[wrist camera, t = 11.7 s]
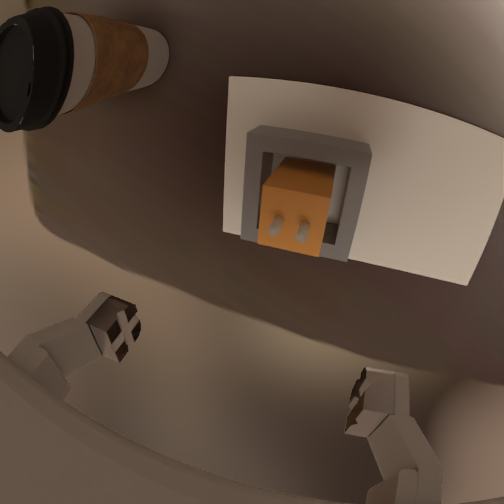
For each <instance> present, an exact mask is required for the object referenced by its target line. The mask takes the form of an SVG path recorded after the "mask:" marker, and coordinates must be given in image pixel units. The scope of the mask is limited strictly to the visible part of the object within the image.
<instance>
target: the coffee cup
mask: <svg viewBox="0 0 504 504" xmlns="http://www.w3.org/2000/svg"><path fill="white" fill-rule="evenodd" d="M168 61H169V47H168V44H167V41H166V39H165V38H164V37H163V35H162V34H160V33H159V32H158V31H156V30H153V29H150V28H146V27H142V26H137V25H133V24H130V23H127V22H122V21H118V20H114V19H109V18H105V17H100V16H95V15H90V14H84V13H78V12H66V13H62V12H61V11H59V10H58V9H56V8H54V7H42V8H36V9H33V10H30V11H28V12H27V13H25V14H22V15H18V16H14V17H12V18H10V19H8V20H7V21H5V22H4V23H3V24H2V25H1V26H0V129H1V130H3V131H5V132H13V131H17V130H26V131H32V130H36V129H40V128H44V127H45V126H47V125H49V124H50V123H51V122H52V121H53V120H54V119H55V118H56V116H64V115H68V114H70V113H73V112H75V111H77V110H80V109H82V108H85V107H87V106H90V105H92V104H95V103H98V102H100V101H103V100H106V99H109V98H111V97H114V96H117V95H120V94H123V93H125V92H128V91H132V90H135V89H139V88H143V87H146V86H149V85H151V84H153V83H154V82H156V81H157V80H158V79H159V78H160V77H161V76H162V74H163V73H164V71H165V69H166V67H167V64H168Z"/></svg>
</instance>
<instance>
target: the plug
mask: <svg viewBox="0 0 504 504" xmlns="http://www.w3.org/2000/svg"><path fill="white" fill-rule="evenodd" d="M335 171H336V166H333V165H328V164H323V163H318V162H313V161H307V160H302V159H296V158H291V157H285V158H284V159H283V161H282V162H281V163H280V164H279V166H278V167H277V168H276V169H275V171H274V172H273V173H272V174H271V175H270V177H269V178H268V179H267V180H266V182H265V183H264V184H263V188H262V199H261V209H260V220H259V231H258V242H257V244H261V245H266V246H270V247H275V248H279V249H284V250H289V251H293V252H298V253H302V254H307V255H311V256H316V257H319V254H320V250H321V245H322V240H323V236H324V231H325V226H326V221H327V217H328V212H329V206H330V201H331V196H332V190H333V184H334V177H335Z"/></svg>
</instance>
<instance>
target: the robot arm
mask: <svg viewBox="0 0 504 504" xmlns="http://www.w3.org/2000/svg"><path fill="white" fill-rule="evenodd" d="M136 313H137V308H136V305H135V304H132V303H130V302H127V301H125V300H122V299H120V298H117V297H114V296H112V295H110V294H107V293H104V292H101V293H99V294H98V295H97V296H96V297H95V298H94V299H93V300H92V301H91V302H90V303H89V304H88V305H87V306H86V307H85V308H84V309H83V311H82V312H81V313H80V314H79V315H78V316H77V317H76V318H74V317H72V318H69V319H66V320H64V321H61V322H59V323H57V324H54V325H51V326H49V327H46V328H44V329H41V330H39V331H36V332H34V333H31V334H29V335H26V336H25V337H24V338H23V339H22V340H21V342H20V343H19V344H18V345H17V346H16V347H15V348H14V349H13V351H12V352H11V353H10V354H9V355H8V356H7V357H6V356H5V355H4V354H3V353H2V352H1V351H0V504H349V503H339V502H331V501H324V500H317V499H311V498H305V497H299V496H294V495H290V494H284V493H280V492H276V491H272V490H267V489H263V488H259V487H256V486H252V485H248V484H245V483H241V482H237V481H234V480H231V479H228V478H225V477H222V476H218V475H215V474H213V473H210V472H207V471H204V470H201V469H198V468H196V467H193V466H190V465H188V464H185V463H183V462H180V461H178V460H175V459H173V458H171V457H168V456H166V455H164V454H161V453H159V452H157V451H155V450H152V449H150V448H148V447H146V446H144V445H142V444H140V443H138V442H136V441H134V440H132V439H130V438H128V437H126V436H124V435H122V434H120V433H118V432H116V431H114V430H113V429H111V428H109V427H107V426H105V425H104V424H102V423H100V422H98V421H96V420H95V419H93V418H91V417H90V416H88V415H87V414H85V413H83V412H82V411H80V410H78V409H77V408H75V407H74V406H72V405H71V404H69V403H67V402H66V401H64V398H65V397H66V396H67V394H68V393H69V391H70V390H71V387H70V385H69V383H68V382H67V380H66V379H65V378H66V377H67V376H69V375H71V374H73V373H75V372H76V371H78V370H80V369H82V368H83V367H85V366H87V365H89V364H90V363H92V362H94V361H96V360H98V359H99V358H101V357H102V356H104V357H106V358H109V359H111V360H113V361H115V362H118V363H120V362H121V361H122V359H123V358H124V357H125V355H126V354H127V352H128V345H130V344H132V343H134V342H135V341H136V340H137V338H138V337H139V334H140V331H141V322H140V319H139V318H138V317H137V316H136ZM349 407H350V409H351V412H350V413H349V414H348V416H347V420H346V427H345V434H351V435H356V436H362V437H368V438H367V439H368V442H369V444H370V447H371V449H372V452H373V454H374V457H375V459H376V462H377V464H378V467H379V469H380V471H381V474H382V477H383V479H384V481H383V482H381V483H379V484H378V485H376V486H374V487H372V488H371V489H369V490H368V496H367V501H366V504H441V498H442V484H443V468H442V466H441V464H440V462H439V461H438V459H437V457H436V455H435V454H434V452H433V450H432V448H431V447H430V445H429V443H428V442H427V440H426V438H425V436H424V435H423V433H422V431H421V430H420V428H419V426H418V425H417V423H416V421H415V420H414V418H413V417H409V376H408V374H405V373H398V372H393V371H388V370H382V369H375V368H370V367H364V368H363V370H362V372H361V376H360V379H358V380H357V381H356V382H355V384H354V386H353V389H352V391H351V395H350V400H349ZM459 504H504V497H499V498H493V499H488V500H481V501H475V502H467V503H459Z"/></svg>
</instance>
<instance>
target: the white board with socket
mask: <svg viewBox="0 0 504 504" xmlns="http://www.w3.org/2000/svg"><path fill="white" fill-rule="evenodd" d="M285 157H291V158H296V159H302V160H307V161H313V162H318V163H323V164H328V165H333V166H336V171H335V177H334V184H333V190H332V196H331V201H330V206H329V212H328V217H327V221H326V226H325V231H324V236H323V240H322V245H321V250H320V254H319V256H322V257H326V258H331V259H335V260H340V261H344V262H347V260H348V259H353V260H357V261H362V262H366V263H371V264H375V265H380V266H384V267H388V268H393V269H397V270H402V271H406V272H410V273H415V274H419V275H423V276H428V277H432V278H436V279H440V280H445V281H449V282H453V283H457V284H462V285H466V286H467V284H468V282H469V280H470V278H471V276H472V274H473V272H474V270H475V268H476V266H477V263H478V261H479V259H480V257H481V255H482V252H483V250H484V248H485V245H486V243H487V241H488V238H489V236H490V233H491V231H492V228H493V226H494V223H495V221H496V218H497V215H498V212H499V210H500V207H501V204H502V201H503V198H504V138H503V137H500V136H498V135H496V134H493V133H491V132H489V131H486V130H484V129H482V128H479V127H477V126H474V125H471V124H469V123H466V122H464V121H461V120H458V119H455V118H452V117H450V116H447V115H444V114H441V113H438V112H435V111H431V110H428V109H425V108H422V107H418V106H415V105H411V104H408V103H404V102H401V101H397V100H393V99H389V98H385V97H381V96H377V95H372V94H368V93H363V92H358V91H353V90H348V89H343V88H337V87H332V86H325V85H319V84H312V83H305V82H297V81H289V80H280V79H269V78H257V77H240V76H229V88H228V107H227V127H226V150H225V176H224V208H223V232H228V233H232V234H237V235H241V238H240V239H243V240H248V241H252V242H258V231H259V220H260V209H261V199H262V188H263V184H264V183H265V182H266V180H267V179H268V178H269V177H270V175H271V174H272V173H273V172H274V171H275V169H276V168H277V167H278V166H279V164H280V163H281V162H282V161H283V159H284V158H285Z"/></svg>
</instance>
